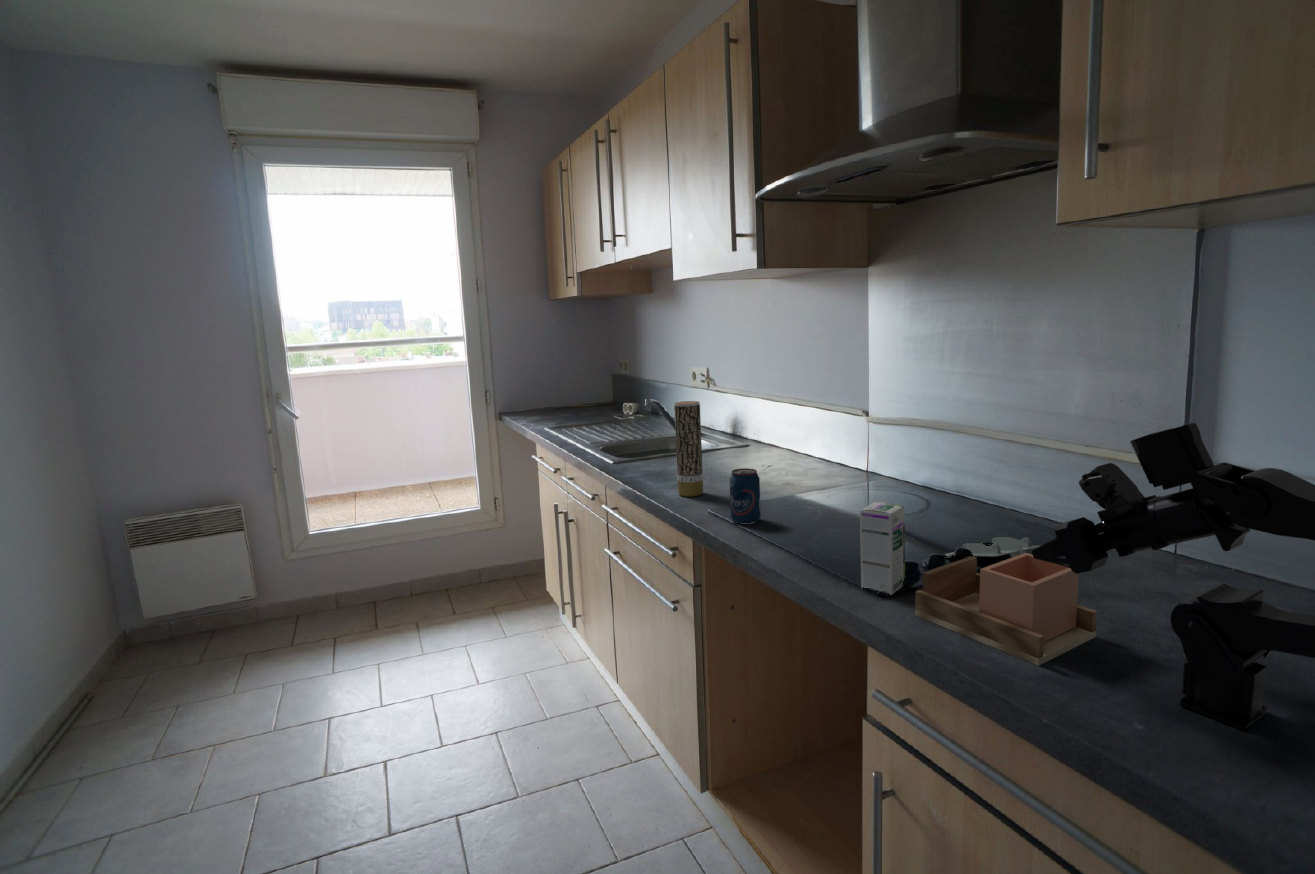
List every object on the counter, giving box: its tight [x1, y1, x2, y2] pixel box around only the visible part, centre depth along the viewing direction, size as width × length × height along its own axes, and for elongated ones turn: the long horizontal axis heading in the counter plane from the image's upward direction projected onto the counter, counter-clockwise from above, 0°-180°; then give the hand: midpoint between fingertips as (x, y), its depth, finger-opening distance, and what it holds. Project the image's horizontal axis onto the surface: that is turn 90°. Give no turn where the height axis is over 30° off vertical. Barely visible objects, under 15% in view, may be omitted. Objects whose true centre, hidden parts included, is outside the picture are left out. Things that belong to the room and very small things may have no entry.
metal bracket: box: [944, 536, 1041, 558], centre depth 134 cm, size 14×6×15 cm
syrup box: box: [859, 501, 906, 596], centre depth 122 cm, size 6×6×14 cm
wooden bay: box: [914, 556, 1098, 666], centre depth 106 cm, size 20×14×7 cm
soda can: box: [729, 468, 761, 523], centre depth 165 cm, size 7×7×12 cm
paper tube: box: [673, 400, 704, 498], centre depth 190 cm, size 7×7×25 cm
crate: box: [979, 552, 1080, 642], centre depth 103 cm, size 8×11×9 cm
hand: (1052, 547), depth 98 cm, fingers open, 9 cm apart
